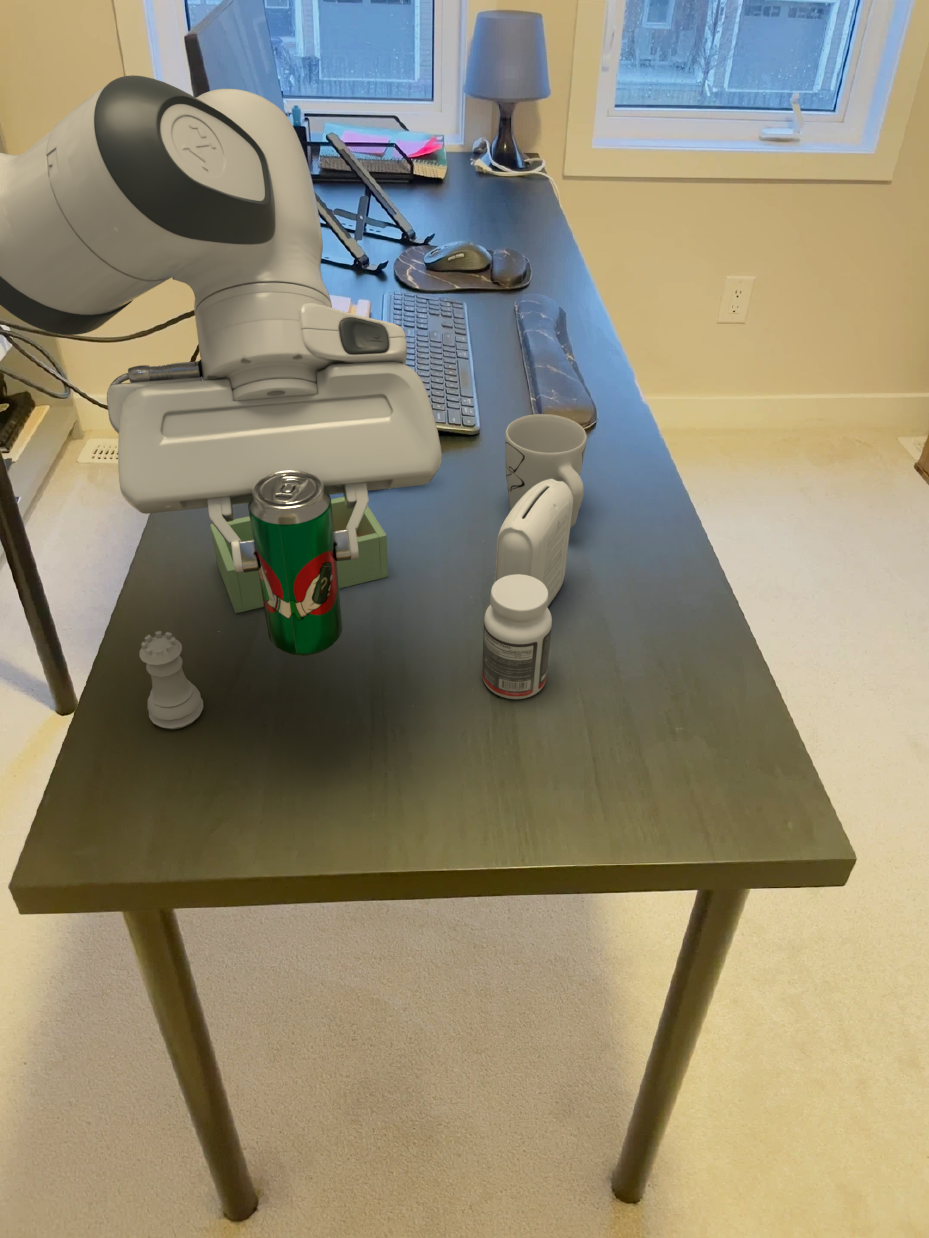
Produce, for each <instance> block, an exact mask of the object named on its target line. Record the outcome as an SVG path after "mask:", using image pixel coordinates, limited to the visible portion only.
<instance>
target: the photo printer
mask: <svg viewBox="0 0 929 1238" xmlns="http://www.w3.org/2000/svg"><path fill="white" fill-rule="evenodd" d="M572 508H573V495H572V493H571V490H570V489H569V487H568V486H567V485H566V483H564V482H563V481H556V480H554V479H548V480H545V481H542V482H540V483H538V484H536V485H535V486H533V487H532V488H531V489H530V490H528V491H527V492H526V493H525V494H524V495H523V496H522V497H521V499H520V500H519V501H518V502H517V503H516V505H515V506H514V507H513V509H512V510H511V509H510V511H509V513H508V514H507V516H506V517H505V519H504V521H503V523H502V524H501V526H500V529H499V531H498V532H499V533H498V535H497V539H496V551H495V567H494V570H495V571H494V583H495V582H496V581H497V580H499V579H500V578H502V577H505V576H508V575H515V574H520V575H527V576H531V577H534V578H536V579H538V580H540V581H541V582H542V583H543V584H544V585H545V586H546V588H547V590H548V604H547V608H548V607H549V606H550V605H551V603H552V601H553V600H554V599H555V597H556V596H557V594H558V593H559V591H561V588H562V586H563V583H564V580H565V575H566V567H567V559H568V552H569V551H568V549H569V542H570V533H571V528H570V525H571V517H572Z"/></svg>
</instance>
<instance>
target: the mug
mask: <svg viewBox="0 0 929 1238" xmlns="http://www.w3.org/2000/svg"><path fill="white" fill-rule="evenodd" d="M587 441H588V436H587V432H586V430H585V429H584V427H583V426H582V425H581V424H580V423H578V422H576V421H574V420H573V419H570V418H568V417H565V416H561V415H556V414H549V413H544V414H543V413H537V414H529V415H524V416H521V417H519V418H516V419H514V420H513V421H511V422H510V423H509V424H508V425H507V427H506V429H505V434H504V452H505V453H504V457H505V458H504V459H505V461H504V462H505V480H506V487H507V494H508V495H507V496H508V503H509V509H510V511H511V510H512V509H513V507H514V506H515V505H516V503H517V502H518V501H519V500H520V499H521V497H522V496H523V495H524V494H525V493H526V492H527V491H528V490H530V489H531V488H532V487H533V486H535V485H536V484H538V483H540V482H542V481H545V480H548V479H554V480H556V481H563V482H564V483H566V485H567V486H568V487H569V489H570V490H571V493H572V495H573V508H572V517H571V525H570V529H571V528H573V527H574V526H575V525H576V522H577V520H578V516H579V512H580V508H581V506H582V503H583V498H584V492H585V491H584V490H585V489H584V483H583V480H582V478H581V473H582V467H583V463H584V457H585V454H586V448H587Z"/></svg>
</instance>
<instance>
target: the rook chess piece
mask: <svg viewBox="0 0 929 1238" xmlns="http://www.w3.org/2000/svg"><path fill="white" fill-rule="evenodd" d="M154 634H155V636H153V637H152V636H151V635H150V634H147V635H146V636H145V637H144V641H141V647H140V650H139V652H138V653H139V655H138V656H139V658H140V660H141V662H143V663H145V664H146V666H145V667H146V669H145V670H146V672H147V673H148V674H149V675H150V677H151V685H152V686H151V687H152V688H151V690H150V692H149V696H148V698H147V711H148V717H149V719H150V721H151V722H152V723H153V724H154V725H156V726H158V727H160V728H163V729H167V730H177V729H183V728H185V727H187V726H189V725H192V724H193V723H194V722H195V721H196V720H197V719H198V718H199V717H200V715H201V714H202V711H203V710H204V700H203V699H202V697H201V692H200V691H199V689H198V688H197V686H196V685H195V684H193V683H192V682H191V681H190V680H188V679H187V677H186V675H185V673H184V671H183V668H182V666H183V658H182V657H181V656H180V655H181V652H182V651H183V644H182V643H181V642H180V641H179V640H178V639H177V638H176V637H175V636H173V633H171V632H169V631H166V632H165V634H164V635H163V633H162V630H159V631H158V630H157V631H154Z"/></svg>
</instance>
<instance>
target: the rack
mask: <svg viewBox="0 0 929 1238" xmlns="http://www.w3.org/2000/svg"><path fill="white" fill-rule="evenodd" d="M331 503H332V515H333V526H334V531H340V530H345V529H346V527H347V524H348V522H349V520H350V517H351V515H352V512H353V510H354V507H355V506H354V507H353V508H350V509H347V508H346V505H345V499H344V496H341V497H335V498H331ZM227 523H228V524H229V525H230V527H231V528H232V529H233V530H234V532H235V533H236V534H237V536H238V537H239V538H240V540H241V541H251V540H253V535H252V529H251V523H250V516H249V515H248V516H243V517H238V518H234V520H233V521H229V522H227ZM209 528H210V533H211V538H212V543H213V548H214V554H215V559H216V564H217V567H218V570H219V573H220V575H221V576H220V577H221V578H222V581H223V584H224V586H225V589H226V592H227V594H228V598H229V600H230V603H231V606H232V608H233V611H234V614H239V613H243V612H248V611H252V610H257V609H260V608H264V604H263V598H262V591H261V585H260V579H259V573H258V571H252V572H245V573H237V574H236V572H235V568H234V562H233V554H232V547H231V546H230V545H229V544H228V543H227V541H226V540H225V539H224V538H223V536H222V535H221V534H220V532H219V531H218V530H217V529H216V527H215V526H214V525H213V523H211V524H209ZM356 535H357V543H358V550H359V558H358V559H355V560H346V561H337V572H338V583H339V589H344V588H348V587H351V586H355V585H360V584H364V583H368V582H372V581H377V580H380V579H386V578H389V562H388V560H389V559H388V539H387V538H388V536H387V534H386V532H385V531H384V529H383V527H382V525H381V524H380V523H379V521H378V519H377V518H376V516H375V515H374V513H373V511H372V510H371V508H370V506H369V504H367V507H366V510H365V512H364V515H363V517H362V519H361V522H360V524H359V527H358V529H357V532H356Z"/></svg>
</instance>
